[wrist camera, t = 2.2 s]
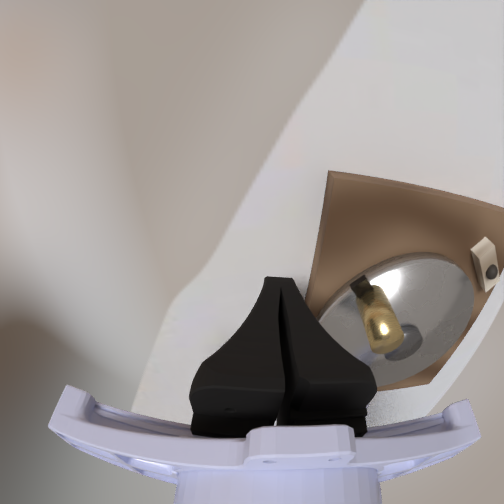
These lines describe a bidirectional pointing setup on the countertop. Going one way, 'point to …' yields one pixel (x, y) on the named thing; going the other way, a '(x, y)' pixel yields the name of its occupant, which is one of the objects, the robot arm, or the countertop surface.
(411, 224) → the stand
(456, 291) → the cam dial
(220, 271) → the countertop surface
